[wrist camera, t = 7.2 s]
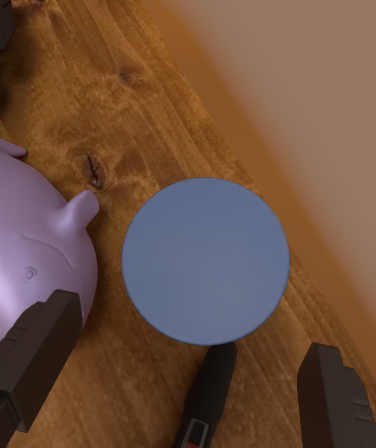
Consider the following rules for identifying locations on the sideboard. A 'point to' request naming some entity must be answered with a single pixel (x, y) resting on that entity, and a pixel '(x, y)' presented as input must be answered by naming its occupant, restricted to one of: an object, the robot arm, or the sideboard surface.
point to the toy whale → (41, 240)
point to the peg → (205, 261)
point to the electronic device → (6, 22)
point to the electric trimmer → (207, 397)
